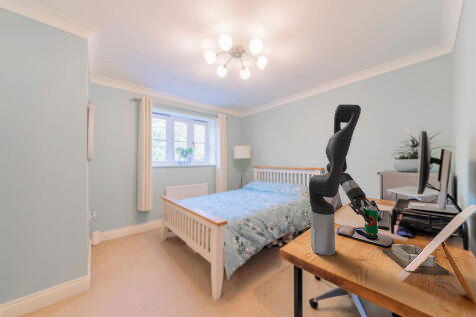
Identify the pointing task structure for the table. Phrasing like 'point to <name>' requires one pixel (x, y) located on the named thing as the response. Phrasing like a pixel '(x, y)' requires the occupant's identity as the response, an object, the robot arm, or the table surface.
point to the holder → (409, 252)
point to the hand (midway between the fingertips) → (374, 221)
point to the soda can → (373, 225)
